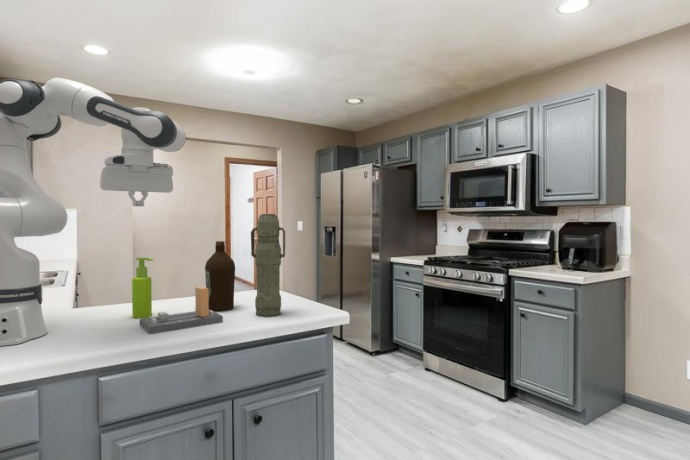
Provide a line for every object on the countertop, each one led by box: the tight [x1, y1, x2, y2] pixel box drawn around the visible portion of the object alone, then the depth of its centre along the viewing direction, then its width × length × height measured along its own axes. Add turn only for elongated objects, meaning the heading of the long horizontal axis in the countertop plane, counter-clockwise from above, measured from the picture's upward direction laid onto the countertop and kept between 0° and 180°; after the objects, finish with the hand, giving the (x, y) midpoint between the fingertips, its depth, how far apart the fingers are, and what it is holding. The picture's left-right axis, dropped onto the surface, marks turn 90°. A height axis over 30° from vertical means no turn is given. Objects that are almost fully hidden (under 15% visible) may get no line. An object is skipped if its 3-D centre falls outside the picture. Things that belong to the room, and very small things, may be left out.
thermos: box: [250, 213, 286, 318], centre depth 145 cm, size 9×12×35 cm
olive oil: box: [204, 240, 236, 313], centre depth 153 cm, size 11×11×25 cm
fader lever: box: [194, 286, 209, 317], centre depth 134 cm, size 2×5×9 cm, turn 39°
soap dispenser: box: [131, 257, 154, 319], centre depth 141 cm, size 6×7×20 cm
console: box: [138, 310, 224, 335], centre depth 132 cm, size 22×12×4 cm, turn 129°
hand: (138, 206), depth 128 cm, fingers closed
